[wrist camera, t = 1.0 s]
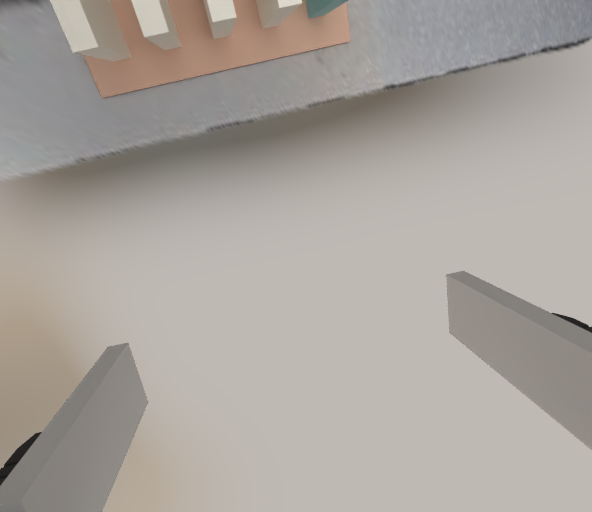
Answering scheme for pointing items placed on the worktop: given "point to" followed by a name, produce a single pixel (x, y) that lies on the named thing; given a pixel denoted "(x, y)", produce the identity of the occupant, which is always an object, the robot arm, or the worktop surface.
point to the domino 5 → (322, 7)
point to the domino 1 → (92, 28)
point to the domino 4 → (275, 11)
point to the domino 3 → (220, 17)
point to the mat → (211, 44)
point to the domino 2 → (157, 23)
